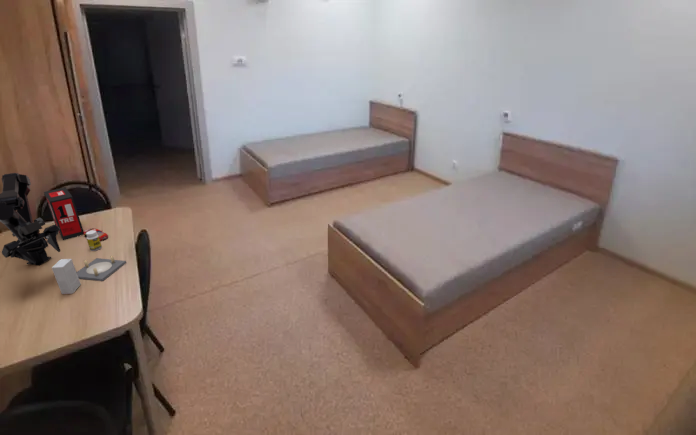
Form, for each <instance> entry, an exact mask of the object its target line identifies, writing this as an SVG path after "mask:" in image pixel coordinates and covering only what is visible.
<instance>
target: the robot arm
mask: <svg viewBox="0 0 696 435" xmlns="http://www.w3.org/2000/svg"><path fill="white" fill-rule="evenodd" d="M1 182H2V192H1V193H0V223H2V224H3V225H4V226H5V227H6V228H7V229H8V230H9V231H10V232H11V233H12V234H11V235H12V237H13V238H14V237H16V239H17V240H13V241H11V242H8V243H5V244H4V245H3V247H2V250H1V254H2V256H3V257H4V258H11V259H12V258H17V259H19V260H23V261H26V265H30V266H31V265H32V266H41V265H43V264H44V263H46V262H47V261H49V260H51V259H52V256H48V253H47V251H46V250H45V249H47V248H48V247H49V245H50V246H51V247H52V248H53V249H54V250H55V251H57V252H58V253H60V252H61V248H60V246H59V243H58V239H57V236H58V234H59V230H60V228H59V227H58V226H57V225H55V224H52V225H49V226H47V227H44V229H43V226H45V225H46V222H45V221H44V220H43V218H41V217H38V218H35V219H34V220H33V216H32V212H31V207H30V203H29V198H28V196H29V194H30V191H31V184H32V183H31V182H32V181H31V179H30V177H29V176H28V175H26V174H20V173H18V172H12V173H11V172H10V173H4V174H2V176H1ZM42 229H43V232H41V233H40V231H41V230H42Z"/></svg>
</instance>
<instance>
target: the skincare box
mask: <svg viewBox="0 0 696 435" xmlns="http://www.w3.org/2000/svg"><path fill="white" fill-rule="evenodd" d="M51 270H52V272H53V274H54V277H55V281H56V282H57V285H58V288H59V290H60V293H61V295H68V294H69V295H70V294H74V293H75V291H77V289H78V288H79V287H80V286H81V284H82V283H81V281H80V279H79V278H78V275H77V270H76V267H75V265H74V262H73V259H72V258H62V259H59V260H58V261H57V262H56V263H55V264H54V265H53V266H52V267H51Z"/></svg>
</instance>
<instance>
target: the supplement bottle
mask: <svg viewBox="0 0 696 435" xmlns="http://www.w3.org/2000/svg"><path fill="white" fill-rule="evenodd" d="M86 235H87V238H86V242H87V244H88V248H89V250H90V251H93V252H95V251H99V250H101V249H102V248H103V247H102V243H101V242H102V241H100V239H99V236H98V234H97V232H96V231H95V230H92V231H88V232H87V233H86Z"/></svg>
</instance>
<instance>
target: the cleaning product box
mask: <svg viewBox="0 0 696 435" xmlns="http://www.w3.org/2000/svg"><path fill="white" fill-rule="evenodd" d="M43 193H44V196H45V199H46V202H47V206H48V208H49V211H50V214H51V217H52V219H53V222H54V225H57V226H58V227H59V228H60V230H59V232H58V234H59V235H61V236H60V237H61V239H62V241H66V240H70V239H74V238H77V236H78V237H81V236H84V231H85V230H84V229H83V228H84V227H83V225H82V222H81V219H80V215H79V213H78V210H77V207H76V203H75V201H74V197H73V196H72V194H71V193H70V191H69V190H68V189H67V188H66V187H62V188H56V189H52V190H48V191H43ZM80 235H81V236H80Z"/></svg>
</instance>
